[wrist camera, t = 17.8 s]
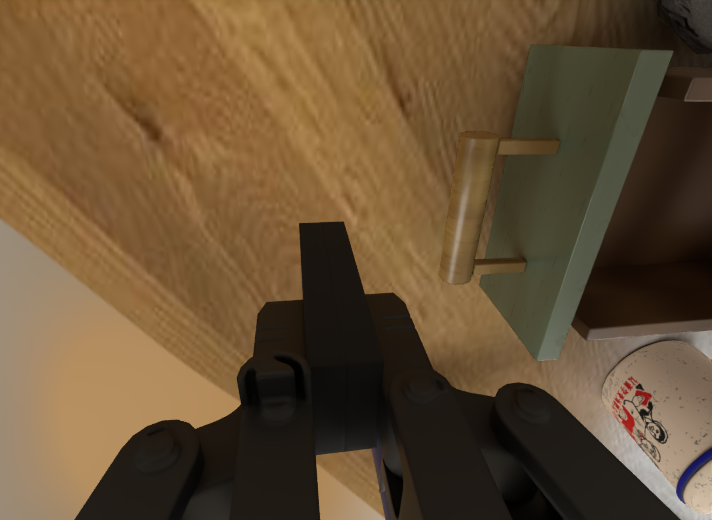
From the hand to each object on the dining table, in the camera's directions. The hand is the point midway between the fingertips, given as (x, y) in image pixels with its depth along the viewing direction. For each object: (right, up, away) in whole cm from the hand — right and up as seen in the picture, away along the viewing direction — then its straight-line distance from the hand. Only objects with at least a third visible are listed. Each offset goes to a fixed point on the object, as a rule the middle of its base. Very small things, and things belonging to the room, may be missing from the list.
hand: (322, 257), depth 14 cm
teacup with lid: (+27, -11, +21) cm, 36 cm away
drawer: (+15, +5, +9) cm, 18 cm away
